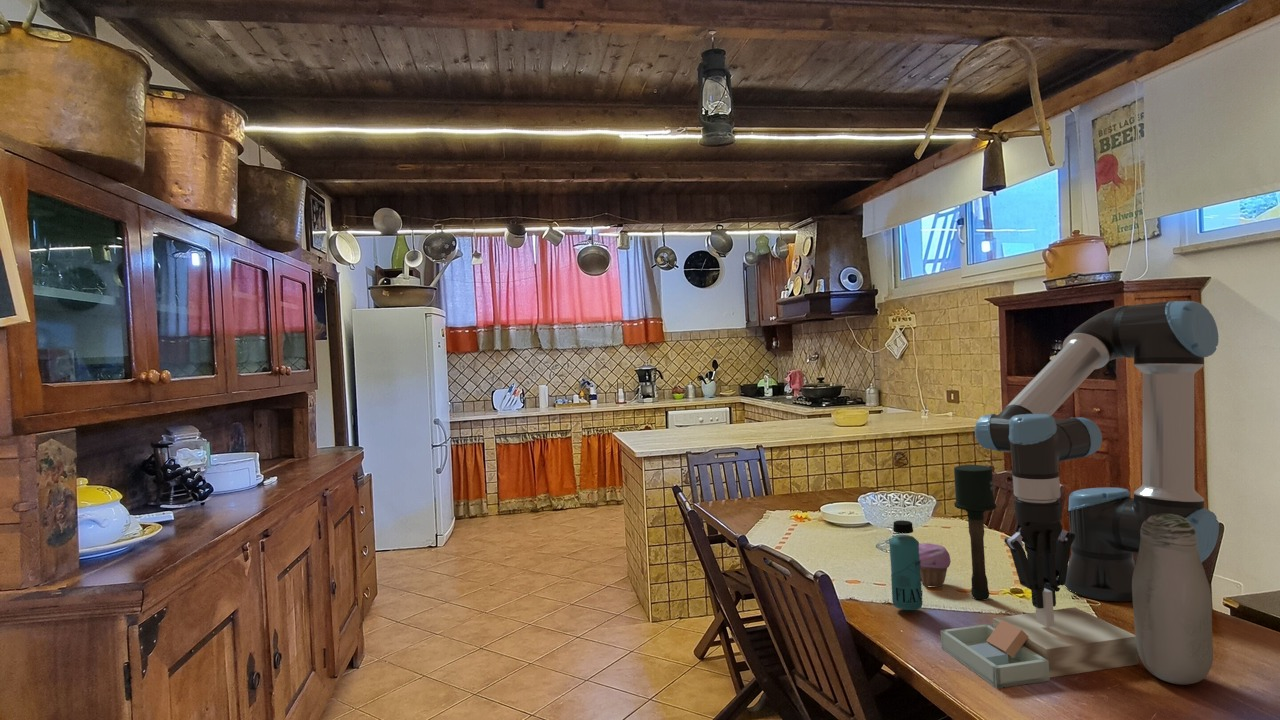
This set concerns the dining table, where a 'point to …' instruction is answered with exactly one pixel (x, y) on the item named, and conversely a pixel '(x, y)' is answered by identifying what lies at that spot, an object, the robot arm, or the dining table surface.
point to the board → (1076, 641)
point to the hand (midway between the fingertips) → (1045, 623)
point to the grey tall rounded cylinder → (1172, 602)
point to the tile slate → (991, 653)
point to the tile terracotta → (1007, 638)
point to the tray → (1016, 672)
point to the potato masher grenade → (975, 516)
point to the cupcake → (933, 564)
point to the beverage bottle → (905, 568)
